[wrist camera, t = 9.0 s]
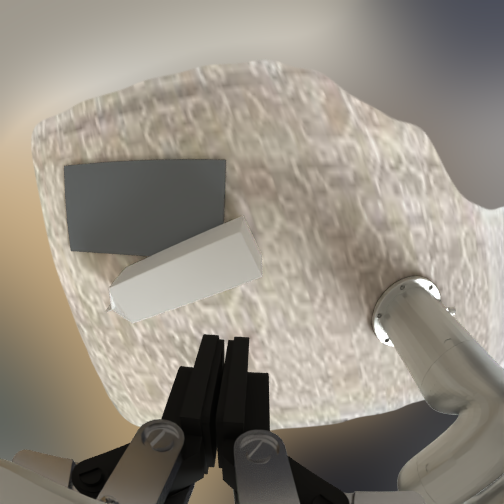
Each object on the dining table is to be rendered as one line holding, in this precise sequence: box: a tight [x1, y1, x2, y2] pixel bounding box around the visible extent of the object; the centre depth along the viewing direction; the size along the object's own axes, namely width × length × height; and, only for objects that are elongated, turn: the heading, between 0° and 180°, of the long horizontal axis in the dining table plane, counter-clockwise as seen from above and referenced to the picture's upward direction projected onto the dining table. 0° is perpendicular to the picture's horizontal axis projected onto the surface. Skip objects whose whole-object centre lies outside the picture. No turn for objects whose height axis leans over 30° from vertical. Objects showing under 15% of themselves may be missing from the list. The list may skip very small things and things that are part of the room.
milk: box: [105, 216, 262, 323], centre depth 37 cm, size 6×6×22 cm
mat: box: [64, 159, 226, 256], centre depth 37 cm, size 24×13×1 cm, turn 87°
